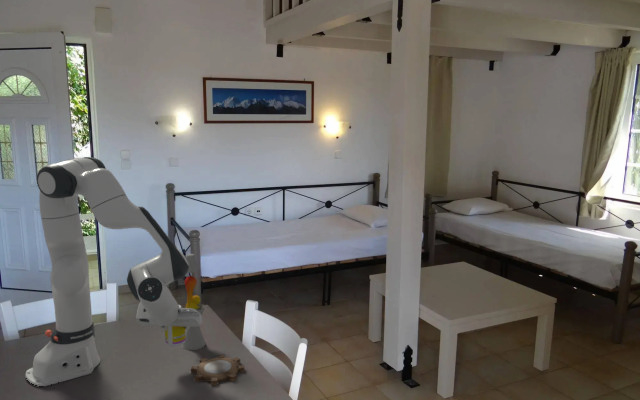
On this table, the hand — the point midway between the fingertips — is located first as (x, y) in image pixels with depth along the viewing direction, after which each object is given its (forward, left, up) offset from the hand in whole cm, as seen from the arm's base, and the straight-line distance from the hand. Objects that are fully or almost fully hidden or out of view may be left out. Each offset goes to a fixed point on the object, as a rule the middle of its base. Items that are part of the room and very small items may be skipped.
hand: (175, 326), depth 169 cm
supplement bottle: (0, 0, -6) cm, 6 cm away
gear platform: (+7, -13, -14) cm, 21 cm away
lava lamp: (+13, +10, -15) cm, 22 cm away
